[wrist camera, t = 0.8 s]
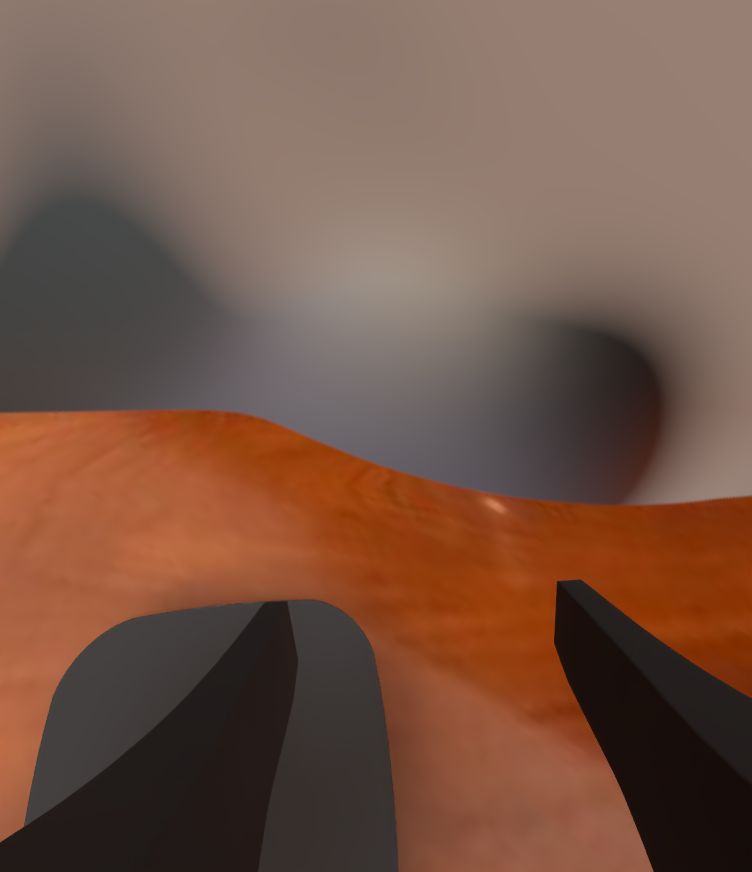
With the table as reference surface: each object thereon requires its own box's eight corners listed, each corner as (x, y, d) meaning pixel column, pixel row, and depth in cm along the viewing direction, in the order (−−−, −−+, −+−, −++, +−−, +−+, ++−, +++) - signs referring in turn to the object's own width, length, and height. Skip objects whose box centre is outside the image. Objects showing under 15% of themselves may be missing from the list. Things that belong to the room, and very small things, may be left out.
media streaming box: (399, 944, 20) (417, 983, 18) (17, 1052, 17) (-30, 1120, 14) (362, 597, 27) (371, 589, 24) (80, 627, 23) (55, 621, 21)
